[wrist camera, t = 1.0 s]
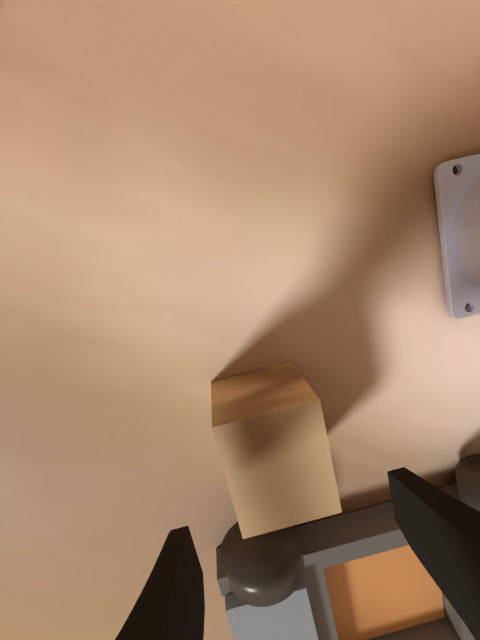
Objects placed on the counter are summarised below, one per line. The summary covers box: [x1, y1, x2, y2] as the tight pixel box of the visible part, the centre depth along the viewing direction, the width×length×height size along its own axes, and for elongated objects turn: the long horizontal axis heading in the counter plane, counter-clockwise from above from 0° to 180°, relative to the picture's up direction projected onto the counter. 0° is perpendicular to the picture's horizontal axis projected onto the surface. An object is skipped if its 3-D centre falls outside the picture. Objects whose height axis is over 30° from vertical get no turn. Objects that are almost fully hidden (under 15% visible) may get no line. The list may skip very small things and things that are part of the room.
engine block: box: [211, 361, 342, 539], centre depth 17 cm, size 4×6×5 cm
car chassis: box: [216, 454, 480, 640], centre depth 21 cm, size 19×14×4 cm
